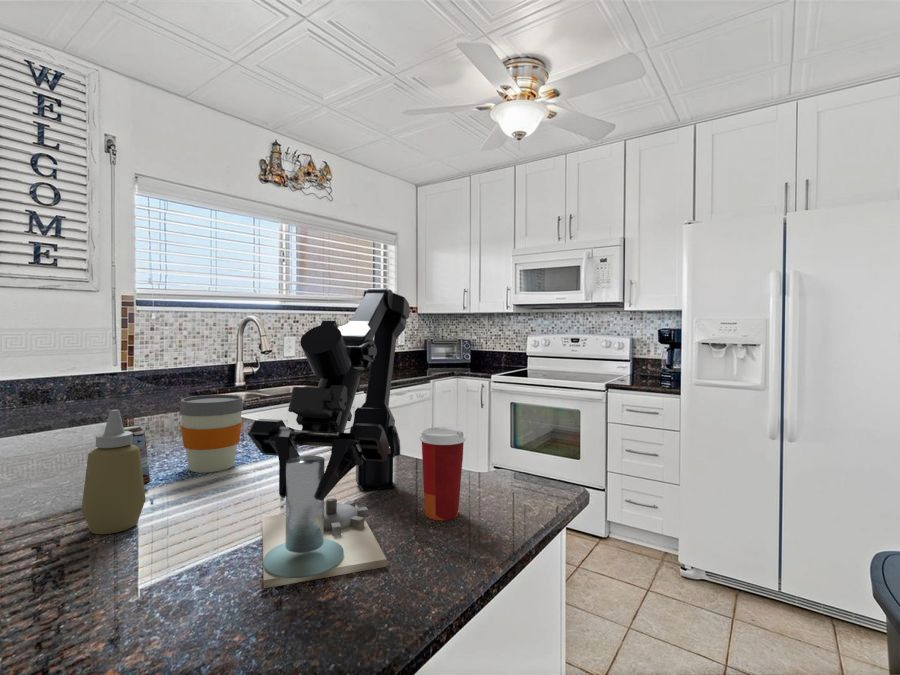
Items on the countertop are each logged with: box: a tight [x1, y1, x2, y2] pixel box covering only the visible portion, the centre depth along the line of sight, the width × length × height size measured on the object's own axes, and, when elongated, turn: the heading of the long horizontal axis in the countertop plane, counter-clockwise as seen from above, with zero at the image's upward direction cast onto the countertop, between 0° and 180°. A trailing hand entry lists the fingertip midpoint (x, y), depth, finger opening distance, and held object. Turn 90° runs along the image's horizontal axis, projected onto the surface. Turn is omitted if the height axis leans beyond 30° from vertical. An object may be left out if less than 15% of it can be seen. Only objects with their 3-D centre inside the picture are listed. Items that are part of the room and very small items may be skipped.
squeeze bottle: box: [81, 409, 147, 535], centre depth 73 cm, size 8×8×18 cm
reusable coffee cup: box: [179, 394, 244, 473], centre depth 105 cm, size 13×12×15 cm
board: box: [261, 497, 388, 589], centre depth 69 cm, size 16×22×4 cm
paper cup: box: [418, 426, 466, 522], centre depth 80 cm, size 8×8×14 cm
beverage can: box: [124, 425, 151, 488], centre depth 89 cm, size 6×7×12 cm
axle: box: [285, 454, 326, 553], centre depth 62 cm, size 5×5×11 cm
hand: (300, 497), depth 61 cm, fingers closed on axle, 5 cm apart
